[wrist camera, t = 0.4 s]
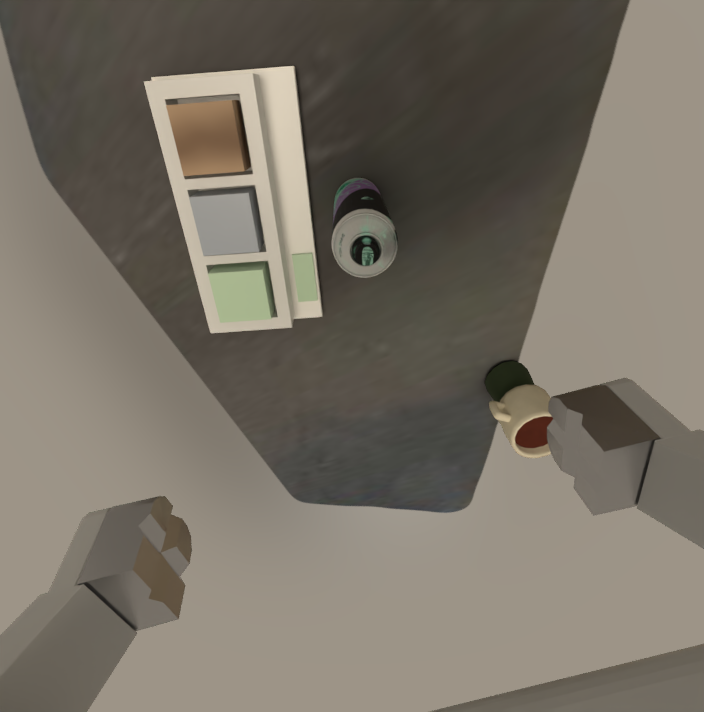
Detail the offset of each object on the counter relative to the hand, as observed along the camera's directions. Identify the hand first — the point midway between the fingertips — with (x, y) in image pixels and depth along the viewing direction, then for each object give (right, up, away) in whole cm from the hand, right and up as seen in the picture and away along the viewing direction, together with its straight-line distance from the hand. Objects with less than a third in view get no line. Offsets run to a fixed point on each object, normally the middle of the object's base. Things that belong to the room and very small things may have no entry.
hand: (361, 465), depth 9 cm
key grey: (-13, +18, +39) cm, 44 cm away
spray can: (+1, +20, +41) cm, 46 cm away
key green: (-13, +11, +43) cm, 46 cm away
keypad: (-12, +19, +41) cm, 47 cm away
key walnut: (-14, +24, +34) cm, 45 cm away
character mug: (+22, -1, +54) cm, 58 cm away
